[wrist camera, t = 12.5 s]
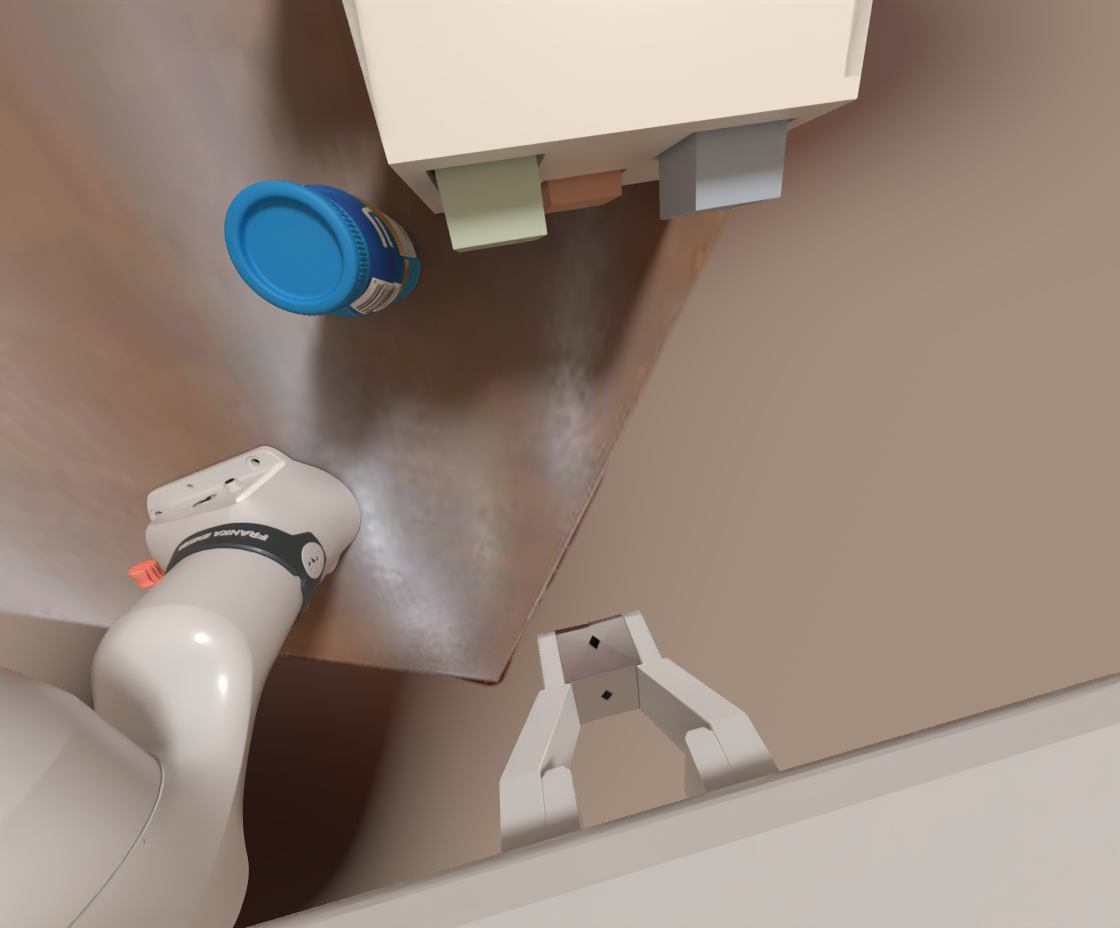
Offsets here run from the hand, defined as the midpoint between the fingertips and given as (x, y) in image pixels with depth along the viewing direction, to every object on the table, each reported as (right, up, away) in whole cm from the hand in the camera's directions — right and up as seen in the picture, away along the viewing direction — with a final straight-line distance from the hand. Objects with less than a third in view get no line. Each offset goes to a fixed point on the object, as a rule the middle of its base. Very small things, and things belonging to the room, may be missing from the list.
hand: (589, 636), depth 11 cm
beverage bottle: (-19, +26, +28) cm, 42 cm away
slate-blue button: (+10, +28, +19) cm, 35 cm away
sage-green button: (-6, +24, +17) cm, 30 cm away
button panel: (-1, +36, +26) cm, 45 cm away
